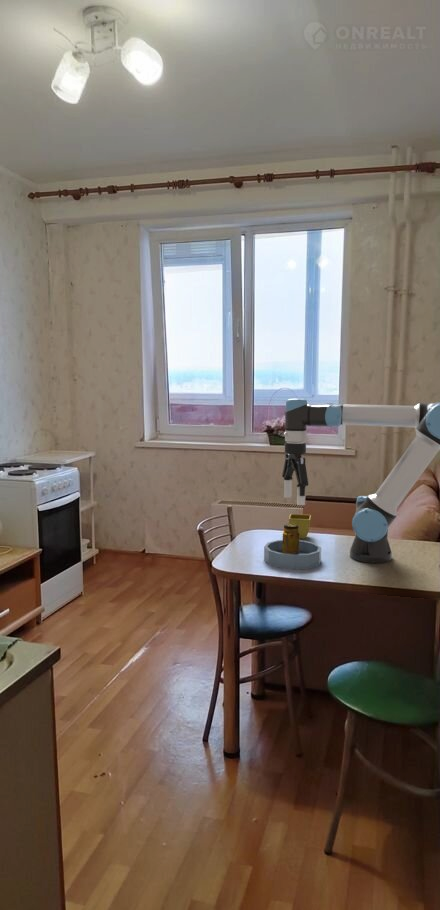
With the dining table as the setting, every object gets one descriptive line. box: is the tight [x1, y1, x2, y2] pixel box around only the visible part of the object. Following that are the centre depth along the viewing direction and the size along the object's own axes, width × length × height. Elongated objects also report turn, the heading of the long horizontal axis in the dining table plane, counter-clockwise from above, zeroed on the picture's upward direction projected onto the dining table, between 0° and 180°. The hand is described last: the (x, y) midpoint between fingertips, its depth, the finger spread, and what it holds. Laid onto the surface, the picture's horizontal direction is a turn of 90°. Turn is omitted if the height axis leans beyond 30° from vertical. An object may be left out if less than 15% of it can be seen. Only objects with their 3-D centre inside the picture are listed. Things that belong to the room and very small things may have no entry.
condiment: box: [282, 523, 300, 554], centre depth 211 cm, size 7×8×12 cm
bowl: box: [263, 539, 322, 570], centre depth 212 cm, size 20×20×5 cm
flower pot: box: [288, 513, 312, 540], centre depth 244 cm, size 9×9×9 cm
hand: (294, 501), depth 210 cm, fingers open, 13 cm apart
